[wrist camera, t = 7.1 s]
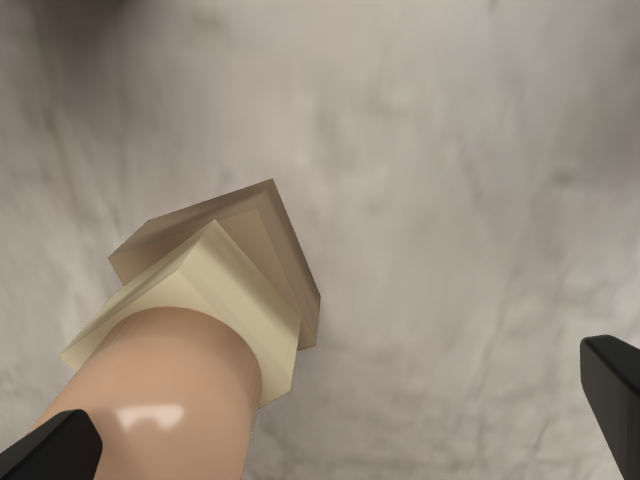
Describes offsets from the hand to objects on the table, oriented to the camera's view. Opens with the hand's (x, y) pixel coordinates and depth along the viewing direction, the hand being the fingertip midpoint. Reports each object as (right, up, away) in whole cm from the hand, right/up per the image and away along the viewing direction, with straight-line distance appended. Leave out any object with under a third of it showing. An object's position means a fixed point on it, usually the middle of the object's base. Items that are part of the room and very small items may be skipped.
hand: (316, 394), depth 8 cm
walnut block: (-4, +2, +13) cm, 14 cm away
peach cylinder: (-4, -1, +6) cm, 7 cm away
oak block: (-4, 0, +10) cm, 10 cm away
